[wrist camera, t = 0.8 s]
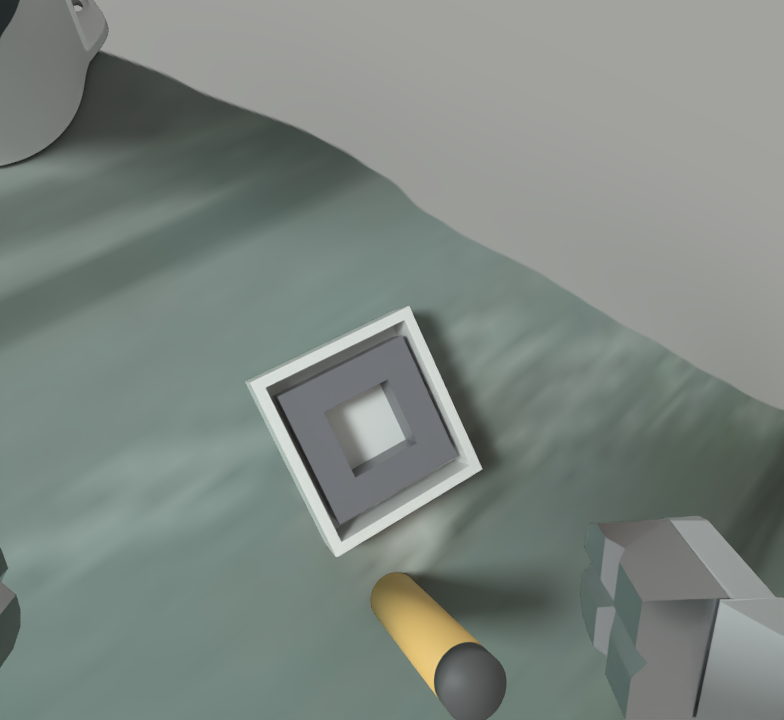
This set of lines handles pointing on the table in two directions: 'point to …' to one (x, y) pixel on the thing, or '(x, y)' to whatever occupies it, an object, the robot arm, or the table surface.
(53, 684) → the table surface
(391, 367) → the walled box
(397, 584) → the cylinder
